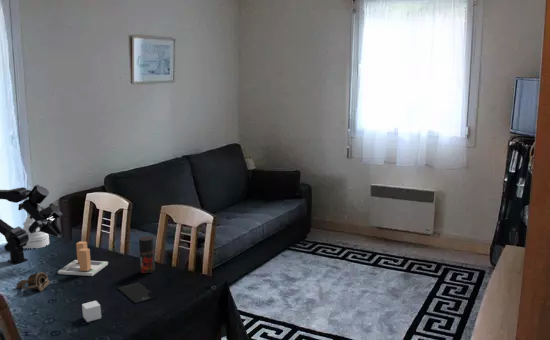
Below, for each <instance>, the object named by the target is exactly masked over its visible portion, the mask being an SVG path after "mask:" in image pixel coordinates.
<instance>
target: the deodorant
mask: <svg viewBox="0 0 550 340" xmlns="http://www.w3.org/2000/svg"><path fill="white" fill-rule="evenodd" d="M138 245H139V246H138V247H139V263H140V273H141V272H142V273H148V272H152V271H154V270H155V271H156V268H155V267H156V266H155V252H154V251H155V250H154V249H155V248H154V237H153V236H151V235H149V236H145V235H144V236H141V237H139V238H138ZM142 273H141V274H142Z"/></svg>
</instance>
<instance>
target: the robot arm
mask: <svg viewBox="0 0 550 340" xmlns="http://www.w3.org/2000/svg"><path fill="white" fill-rule="evenodd" d="M49 195H50V193H49V189H47V187H46V188H45V187H44V186H40V185H39V184H36V185H34V186H33V188H32V189H31V190H30V189H27V188H26V187H17V188H12V189H0V200H6V201H8V202H11V203H14V204H15V203H17V204H18V203H19V202H20V203H19V204H18V207H17V209H18V211H22V210H24V211H25V212H26V213H27V214H28V215H30V217H29V218H30V219H32V218H33V219H34V220H35V221H34V222H33V223H32V224H31V226H30V227H29V228H28V229H29V232H30V233H31V234H32V233H34V232H36V229H37V228H38V227H39V228H40V230H39V232H44V233H47V234H48V235H50V236H52V237H56V238H57V237H59V235H60V236H61V235H62V231H61V229H60V227H59V225H58V220H59V219H60V218H61V217H62V216H63V213H62V212H61V210H59V209H58V208H59V205H58V204H57V203H56V202H54V201H53V202H51V203H49V206H47V207H45V206H40V204H42V203H43V202H44V200H45V199H46V198H47V197H48V196H49ZM0 234H1V235H3V236H4V238H5V241H6V244H5V245H4V247H3V248H4V251H5V252H9V257H10V258H9V259H7V261H8V262H7V263H10V264H14V265H17V264H20V263H23V262H26V261H28V258H25V253H24V252H25V251H24V248H23V247H24V246H26V245H27V242H28V240H29V237H28V234H27V233H26V231H25V230H23V228H22V227H21V226H19V225H18V226H16V227H12V226H11V225H9V224H8V223H7V222H6V221H4V220H3V219H1V218H0Z"/></svg>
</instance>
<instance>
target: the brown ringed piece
mask: <svg viewBox="0 0 550 340" xmlns="http://www.w3.org/2000/svg"><path fill="white" fill-rule="evenodd" d="M50 283H51V282H50V280H49V278H48V274H47V273H45V272H42V271H40V272H38V273H37V272H36V273H32V274H30V275H29V276H28V278H27V279H22V280H20V281H18V282H17V285H16V289H18V290H20V289H22V290H29V289H31V290H33V291H36V290H38V291H39V292H42V291H43V290H44V289H45V288H47V286H49V285H50ZM27 285H28V286H27Z"/></svg>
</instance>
